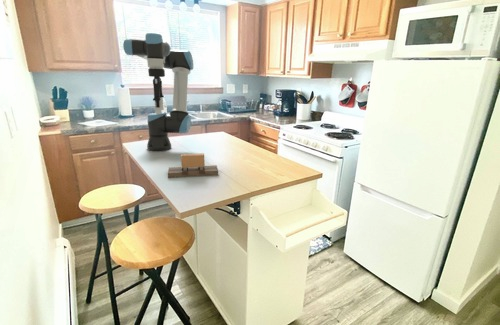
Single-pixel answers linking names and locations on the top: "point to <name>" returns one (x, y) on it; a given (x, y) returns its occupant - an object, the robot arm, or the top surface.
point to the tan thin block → (192, 161)
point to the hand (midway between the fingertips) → (159, 112)
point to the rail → (192, 171)
